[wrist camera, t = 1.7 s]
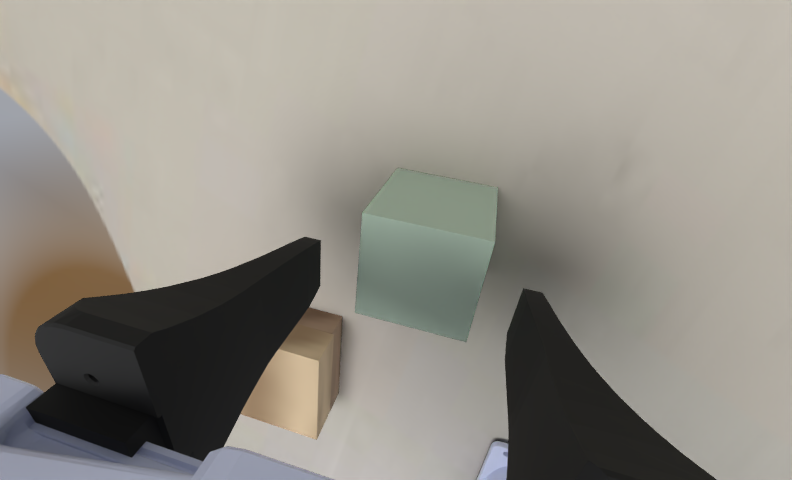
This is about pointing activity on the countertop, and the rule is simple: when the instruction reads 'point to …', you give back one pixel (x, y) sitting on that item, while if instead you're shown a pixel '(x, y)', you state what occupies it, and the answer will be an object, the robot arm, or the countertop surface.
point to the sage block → (426, 252)
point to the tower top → (296, 384)
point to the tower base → (333, 326)
